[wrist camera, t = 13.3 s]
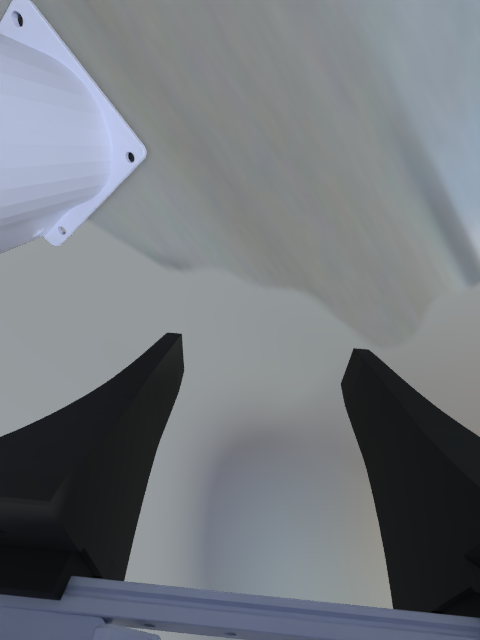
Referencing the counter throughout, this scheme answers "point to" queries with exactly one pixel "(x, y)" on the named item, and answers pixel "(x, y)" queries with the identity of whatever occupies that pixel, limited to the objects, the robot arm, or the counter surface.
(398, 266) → the counter surface
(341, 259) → the counter surface
